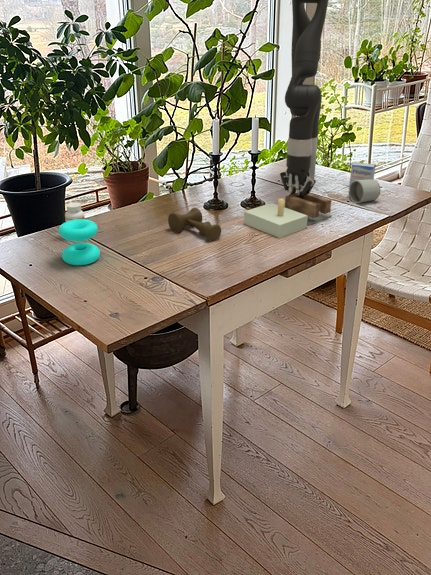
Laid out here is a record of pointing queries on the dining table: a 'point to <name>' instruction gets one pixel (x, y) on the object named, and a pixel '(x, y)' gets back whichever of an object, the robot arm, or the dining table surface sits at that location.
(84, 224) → the donuts
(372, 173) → the medicine box
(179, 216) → the brown dog bone
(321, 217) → the coaster
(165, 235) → the dining table surface
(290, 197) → the c link
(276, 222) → the stand
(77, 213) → the supplement bottle
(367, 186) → the ceramic mug
